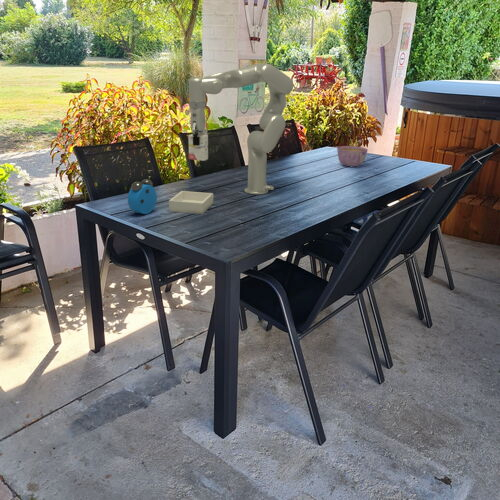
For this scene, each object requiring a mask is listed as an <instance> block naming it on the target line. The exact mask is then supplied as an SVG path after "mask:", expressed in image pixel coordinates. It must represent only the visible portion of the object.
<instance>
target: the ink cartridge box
mask: <svg viewBox="0 0 500 500" xmlns="http://www.w3.org/2000/svg"><path fill="white" fill-rule="evenodd" d="M195 130H198V129H195ZM202 131H203V132H199V137H200V145H199V146H198V145H193V134H192V133H191V134H189V135H188V137H187V138H188V159H189V160H193V161H203V162H204V161H207V160H208V159H209V135H208V129H207V128H205V129H204V130H202Z"/></svg>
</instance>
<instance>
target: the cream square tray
mask: <svg viewBox="0 0 500 500" xmlns="http://www.w3.org/2000/svg"><path fill="white" fill-rule="evenodd" d="M213 204H214V193H213V192H201V191H198V192H197V191H187V190H181V191H179V192H178V193H177V194H176V195H174V196H173V197H172V198H170V199H169V200H168V211H169V212H174V213H175V212H176V213H183V214H184V213H185V214H186V213H187V214H196V215H198V214H200V215H203V214H204V213H205V212H206V211H207V210H208V209H209V208H210V207H212V206H213Z"/></svg>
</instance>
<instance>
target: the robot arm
mask: <svg viewBox="0 0 500 500" xmlns="http://www.w3.org/2000/svg"><path fill="white" fill-rule="evenodd" d="M261 82H262V83H266V85H267V88H268V91H269V101H268V103H267V105H266V107H265V109H264V111H263V113H262V115H261V116H260V119H259V123H258V125H259V127H260V128H261V129H262V130H263V131H261V130H253V131H251V132H250V133H249V135H248V137H247V140H246V143H247V145H246V146H247V151H248V154H247V155H248V161H247V163H248V164H247V165H248V166H247V187H245V188H244V193H247V194H248V195H249V194H251V195H265V194H268V193H269V191H271V190H272V191H274V188H275V186H273V185H269V184H268V182H267V158H268V157H267V156H268V155H267V154H268V153H269V154H270V152H272V151H273V150H274V148H275V147H276V146H277V144H278V142H279V140H280V138H281V137H282V135H283V133H284V130H285V128H286V119H285V117H284V116H283V113H284V110H285V109H286V104H287V97H286V95H289V94H291V92H292V91H293V89H294V82H293V80H292V78H291V77H290V76H288V75H287V74H285V73H284V72H283V71H281V70H280V69H278V67H277V68H276V67H275V66H274V65H272V64H270V63H261V62H259V63H255V64H252V65H248V66H245V67H240V68H236V69H231V70H227V71H223V72H218V73H214V74H210V75H207V76H204V77H191V78H189V79H188V101H189V102H188V103H189V104H188V105H189V106H188V107H189V109H190V130H191V132H192V133H191V134H193V145H198V146H199V145H200V137H199V132H203V131H202V130H204V129H207V126H206V125H207V124H206V123H207V121H206V94H208V95H217V94H218V95H219V94H220V93H222V90H224V89H231V88H233V89H237V88H238V89H239V88H243V87H247V86H251V85H255V84H257V83H261ZM195 129H198V130H195Z"/></svg>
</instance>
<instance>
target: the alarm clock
mask: <svg viewBox="0 0 500 500" xmlns="http://www.w3.org/2000/svg"><path fill="white" fill-rule="evenodd" d="M157 197H158V196H157V191H156V189H155V188H154V186H153V182H152V181H151V180H150V179H149V178H148V179H147V178H146V179H143V180H141V181H135V182H133V183H132V184H131V188H130V190H129V192H128V195H127V203H128V207H129V209H130V210H131V212H134V215H136V214H137V213H138V214H142V215H148V214H150V213H151V212H152V211H154V209H155V207H156V204H157V200H158V198H157Z"/></svg>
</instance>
